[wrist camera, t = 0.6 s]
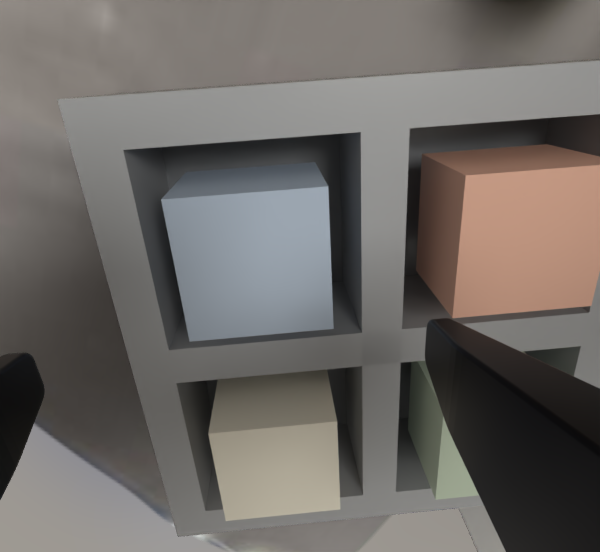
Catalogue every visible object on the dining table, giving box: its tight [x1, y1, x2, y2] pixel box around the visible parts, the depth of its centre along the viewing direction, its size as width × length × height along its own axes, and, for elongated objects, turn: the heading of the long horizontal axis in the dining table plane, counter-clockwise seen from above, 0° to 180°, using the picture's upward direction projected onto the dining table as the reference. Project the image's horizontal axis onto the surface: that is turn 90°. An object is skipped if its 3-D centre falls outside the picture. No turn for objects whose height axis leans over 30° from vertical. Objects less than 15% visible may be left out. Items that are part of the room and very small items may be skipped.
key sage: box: [408, 351, 526, 500], centre depth 20 cm, size 5×5×4 cm
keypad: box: [57, 59, 600, 537], centre depth 20 cm, size 20×20×5 cm
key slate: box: [161, 162, 334, 342], centre depth 16 cm, size 5×5×4 cm
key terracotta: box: [416, 144, 600, 318], centre depth 16 cm, size 5×5×4 cm
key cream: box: [208, 369, 340, 521], centre depth 20 cm, size 5×5×4 cm
